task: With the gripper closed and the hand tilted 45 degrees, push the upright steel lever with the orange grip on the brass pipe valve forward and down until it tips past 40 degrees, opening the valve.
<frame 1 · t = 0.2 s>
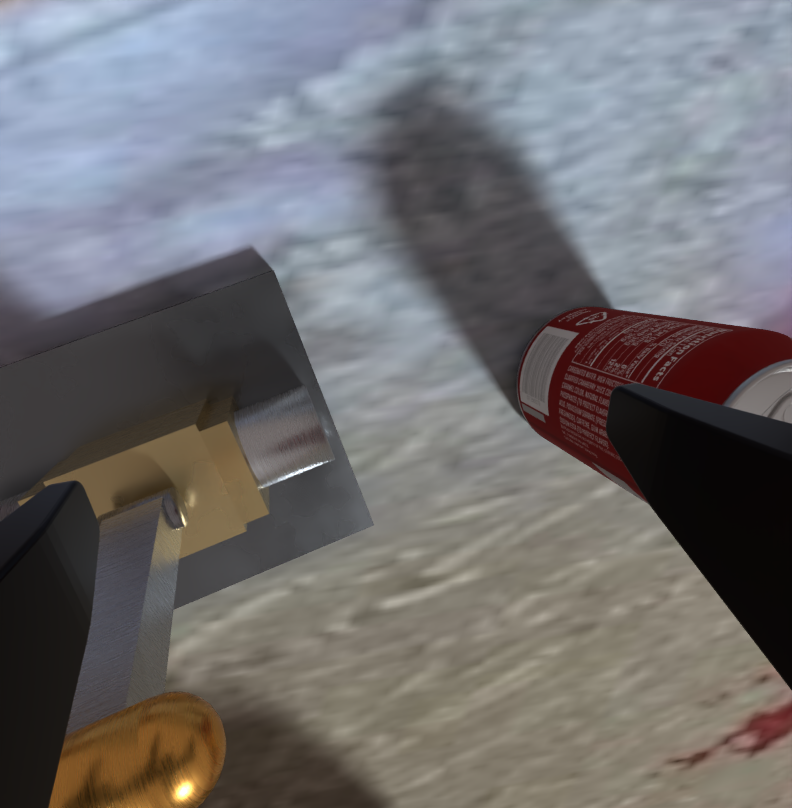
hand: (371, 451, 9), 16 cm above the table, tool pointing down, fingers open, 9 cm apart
soda can: (572, 374, 28), on the table
valve base: (172, 460, 24), on the table
lever: (121, 625, 14), point 11 cm above the table, hinge at -10.0°
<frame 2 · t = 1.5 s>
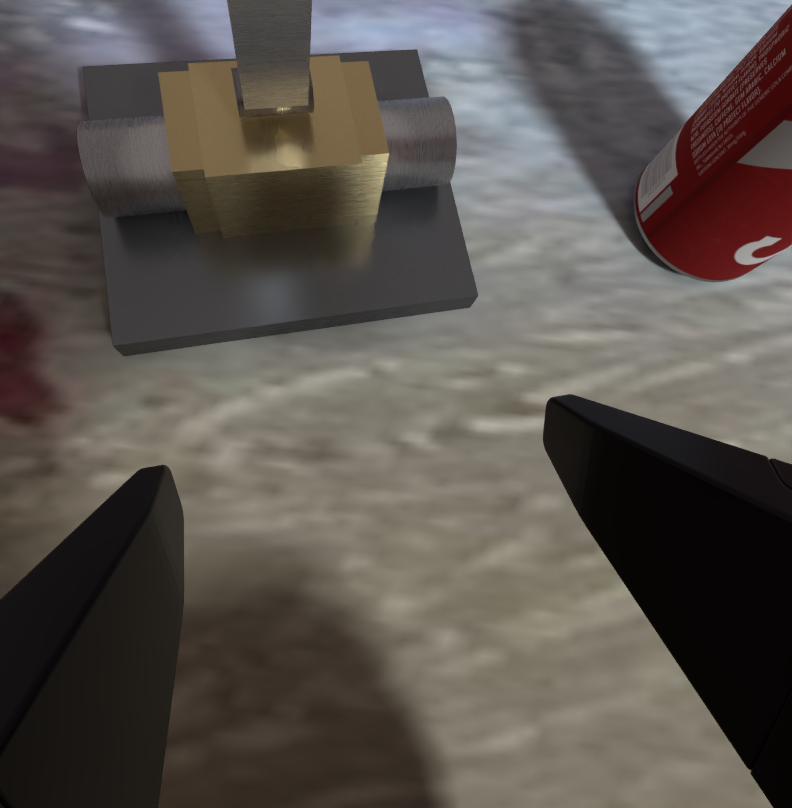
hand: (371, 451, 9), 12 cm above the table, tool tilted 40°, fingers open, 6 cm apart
soda can: (688, 225, 27), on the table
valve base: (282, 198, 24), on the table
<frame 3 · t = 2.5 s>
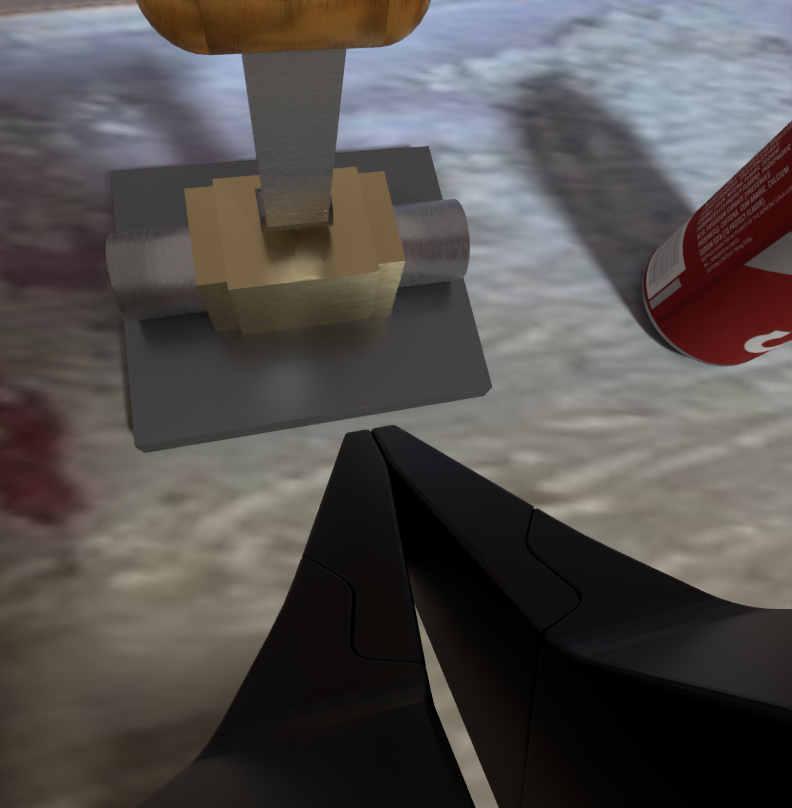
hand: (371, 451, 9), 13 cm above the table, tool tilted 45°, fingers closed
soda can: (696, 307, 27), on the table
valve base: (300, 291, 25), on the table
lever: (292, 123, 14), point 11 cm above the table, hinge at -10.0°
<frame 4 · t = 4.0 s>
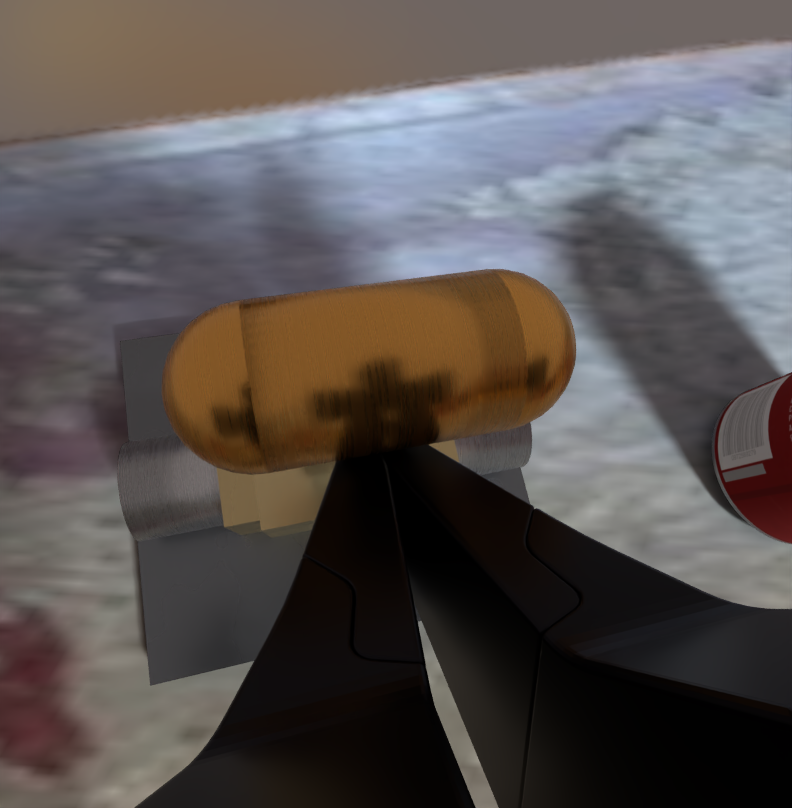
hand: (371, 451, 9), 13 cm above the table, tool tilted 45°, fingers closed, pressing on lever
soda can: (769, 467, 25), on the table
valve base: (333, 469, 22), on the table
lever: (351, 411, 12), point 11 cm above the table, hinge at -7.9°, touching gripper
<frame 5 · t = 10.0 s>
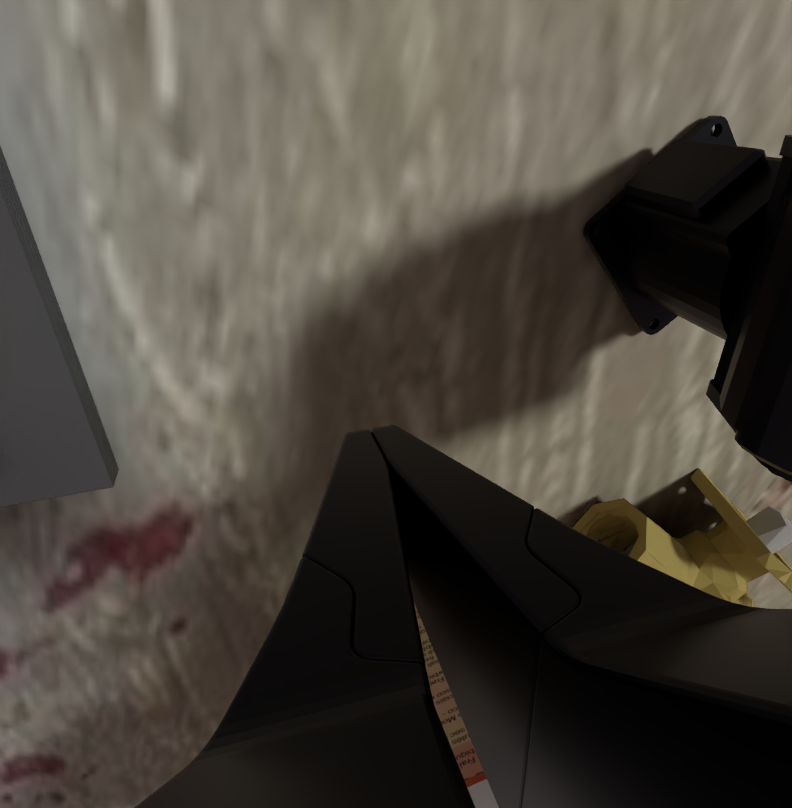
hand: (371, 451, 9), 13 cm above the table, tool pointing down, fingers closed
fruit juice: (415, 583, 31), on the table
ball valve: (663, 528, 34), on the table
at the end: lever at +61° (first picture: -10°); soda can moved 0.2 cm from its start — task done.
